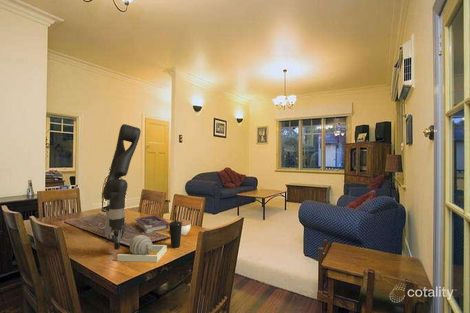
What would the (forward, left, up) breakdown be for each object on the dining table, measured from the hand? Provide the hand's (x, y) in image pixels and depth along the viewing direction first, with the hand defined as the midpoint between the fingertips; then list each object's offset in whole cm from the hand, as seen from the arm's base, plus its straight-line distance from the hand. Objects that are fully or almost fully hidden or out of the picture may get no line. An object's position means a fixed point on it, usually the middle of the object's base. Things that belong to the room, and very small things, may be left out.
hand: (117, 248), depth 134 cm
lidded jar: (+26, +36, -3) cm, 44 cm away
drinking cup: (+28, +13, -3) cm, 31 cm away
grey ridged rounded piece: (+14, -2, -3) cm, 15 cm away
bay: (+14, 0, -3) cm, 14 cm away
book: (-1, +49, -4) cm, 49 cm away
